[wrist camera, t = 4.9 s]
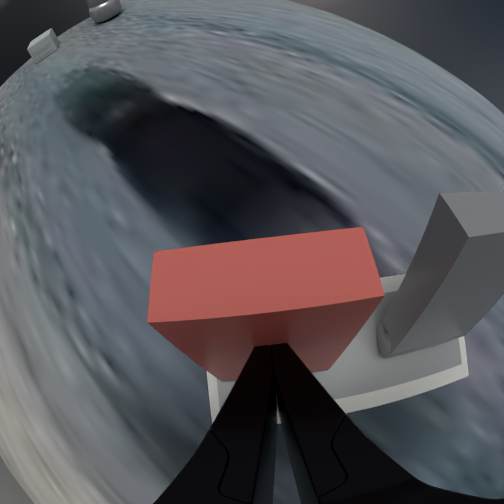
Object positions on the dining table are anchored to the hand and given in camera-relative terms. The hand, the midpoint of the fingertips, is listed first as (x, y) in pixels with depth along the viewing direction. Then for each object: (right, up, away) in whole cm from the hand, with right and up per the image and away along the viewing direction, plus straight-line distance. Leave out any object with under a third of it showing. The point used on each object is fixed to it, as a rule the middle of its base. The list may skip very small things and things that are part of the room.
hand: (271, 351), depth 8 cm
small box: (-43, +45, +31) cm, 70 cm away
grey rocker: (+8, -1, +5) cm, 10 cm away
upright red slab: (0, -2, +5) cm, 5 cm away
